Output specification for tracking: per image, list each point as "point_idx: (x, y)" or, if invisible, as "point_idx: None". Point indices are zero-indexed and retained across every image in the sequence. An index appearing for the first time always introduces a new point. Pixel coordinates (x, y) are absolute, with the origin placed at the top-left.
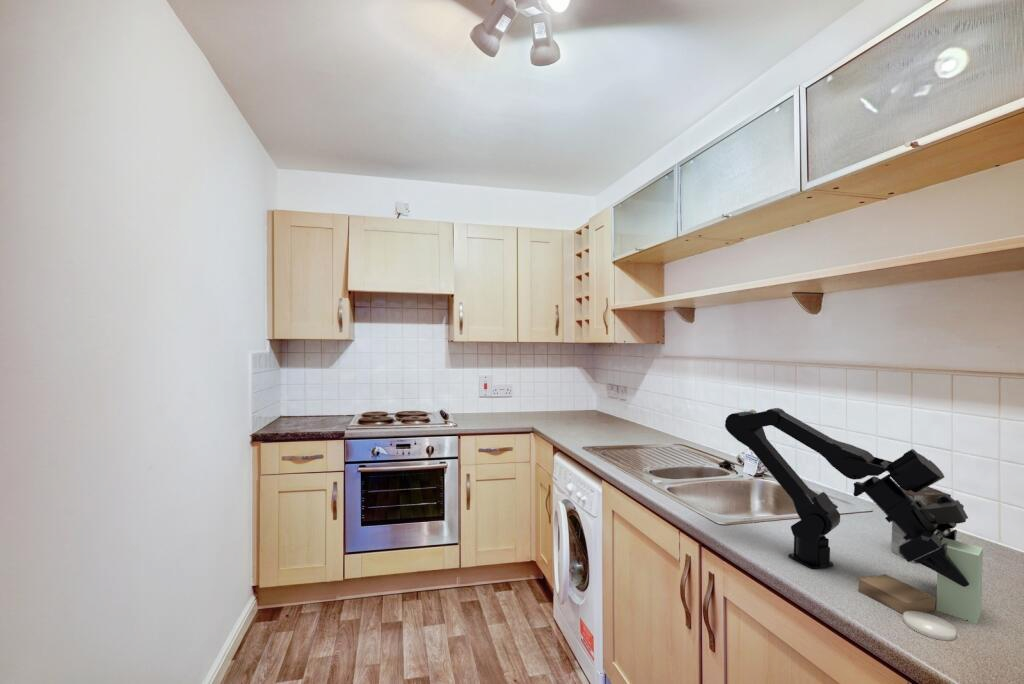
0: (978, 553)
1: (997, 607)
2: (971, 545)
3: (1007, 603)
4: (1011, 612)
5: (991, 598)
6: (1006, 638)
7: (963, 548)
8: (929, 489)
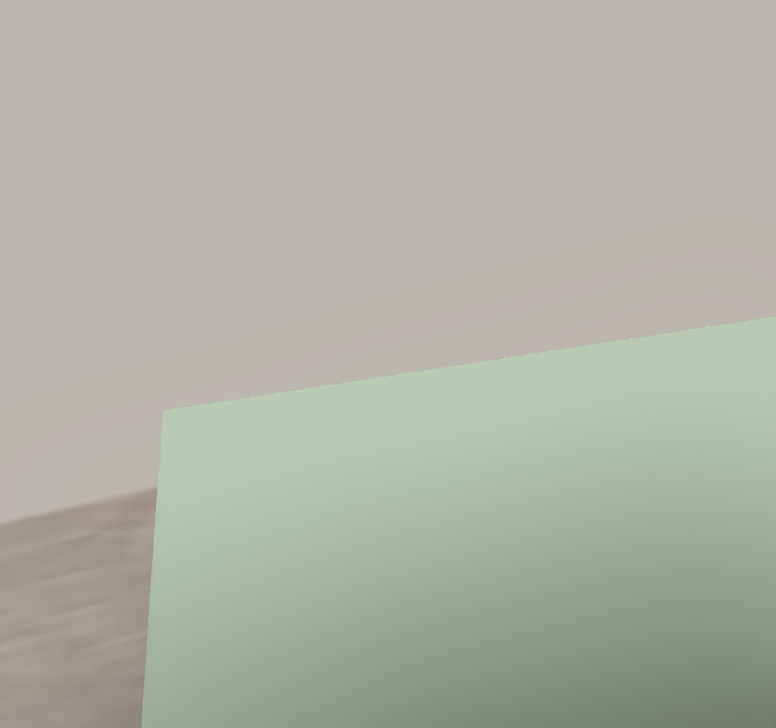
0: (666, 349)
1: (142, 563)
2: (223, 607)
3: (25, 550)
4: (155, 503)
5: (9, 629)
6: None
7: (729, 634)
8: None
